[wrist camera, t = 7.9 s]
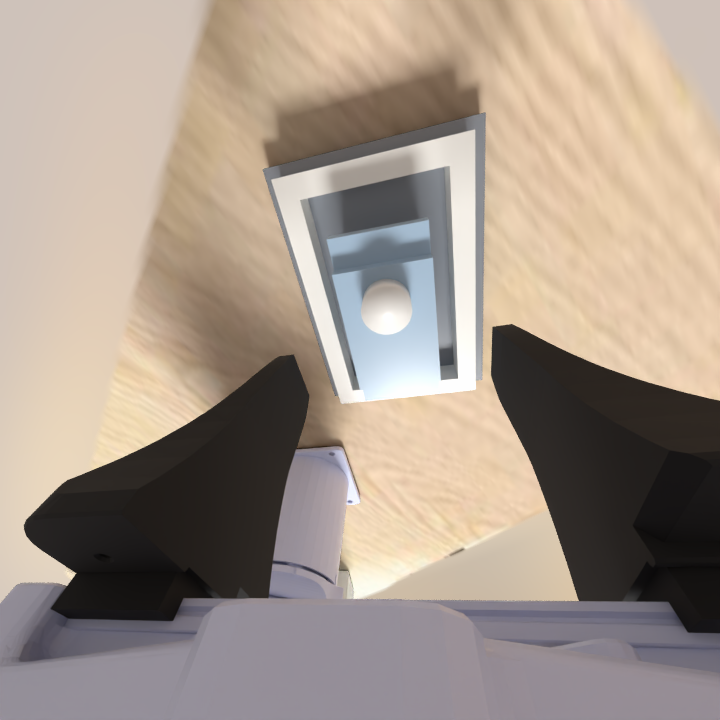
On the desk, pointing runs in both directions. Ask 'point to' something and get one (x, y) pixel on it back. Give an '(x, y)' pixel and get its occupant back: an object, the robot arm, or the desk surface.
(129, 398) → the desk surface
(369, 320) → the block
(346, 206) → the board
